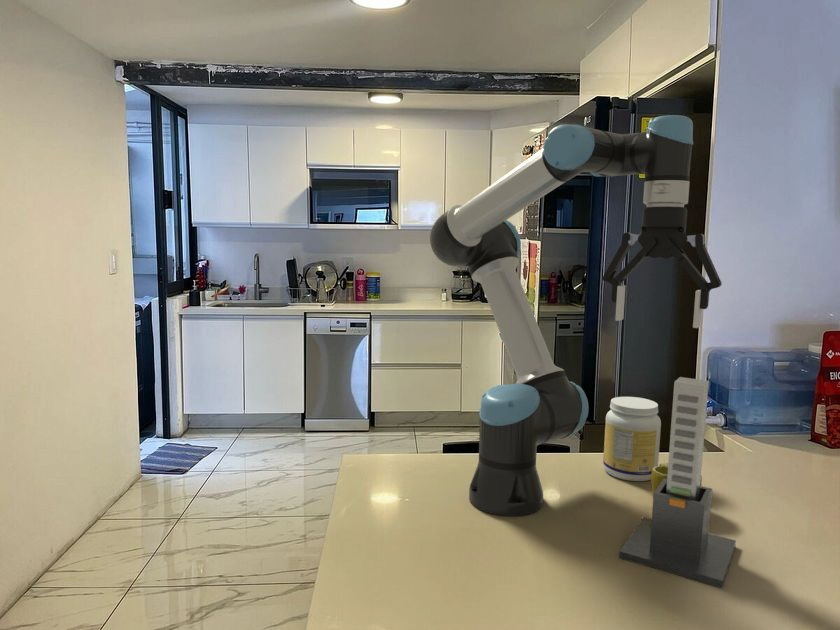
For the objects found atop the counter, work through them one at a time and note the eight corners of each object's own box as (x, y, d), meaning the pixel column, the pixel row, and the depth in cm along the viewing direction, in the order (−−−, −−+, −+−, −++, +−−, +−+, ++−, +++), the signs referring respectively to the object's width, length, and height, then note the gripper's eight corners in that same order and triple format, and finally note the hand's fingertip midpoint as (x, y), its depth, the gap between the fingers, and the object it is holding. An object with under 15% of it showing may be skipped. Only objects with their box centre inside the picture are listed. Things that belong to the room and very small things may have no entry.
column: (664, 508, 107) (673, 382, 104) (670, 498, 111) (679, 377, 109) (693, 515, 105) (703, 386, 102) (698, 504, 109) (708, 380, 106)
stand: (619, 557, 107) (623, 495, 106) (642, 522, 120) (646, 466, 119) (722, 588, 98) (728, 520, 97) (735, 546, 112) (740, 486, 110)
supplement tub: (612, 459, 154) (616, 392, 152) (663, 471, 147) (668, 401, 145) (594, 474, 145) (598, 403, 142) (648, 487, 138) (653, 412, 135)
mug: (716, 515, 120) (700, 463, 121) (661, 525, 122) (646, 474, 124) (704, 501, 132) (690, 454, 133) (654, 511, 134) (641, 464, 135)
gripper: (589, 205, 116) (583, 319, 119) (739, 204, 103) (728, 332, 105) (602, 207, 122) (596, 315, 125) (745, 206, 109) (734, 327, 112)
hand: (656, 323), depth 115 cm, fingers open, 13 cm apart
